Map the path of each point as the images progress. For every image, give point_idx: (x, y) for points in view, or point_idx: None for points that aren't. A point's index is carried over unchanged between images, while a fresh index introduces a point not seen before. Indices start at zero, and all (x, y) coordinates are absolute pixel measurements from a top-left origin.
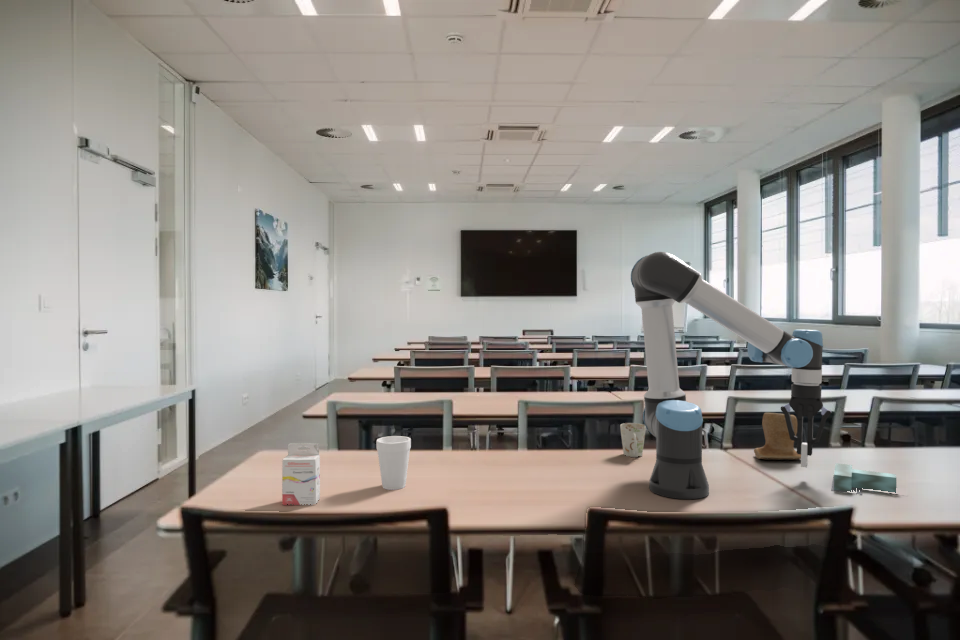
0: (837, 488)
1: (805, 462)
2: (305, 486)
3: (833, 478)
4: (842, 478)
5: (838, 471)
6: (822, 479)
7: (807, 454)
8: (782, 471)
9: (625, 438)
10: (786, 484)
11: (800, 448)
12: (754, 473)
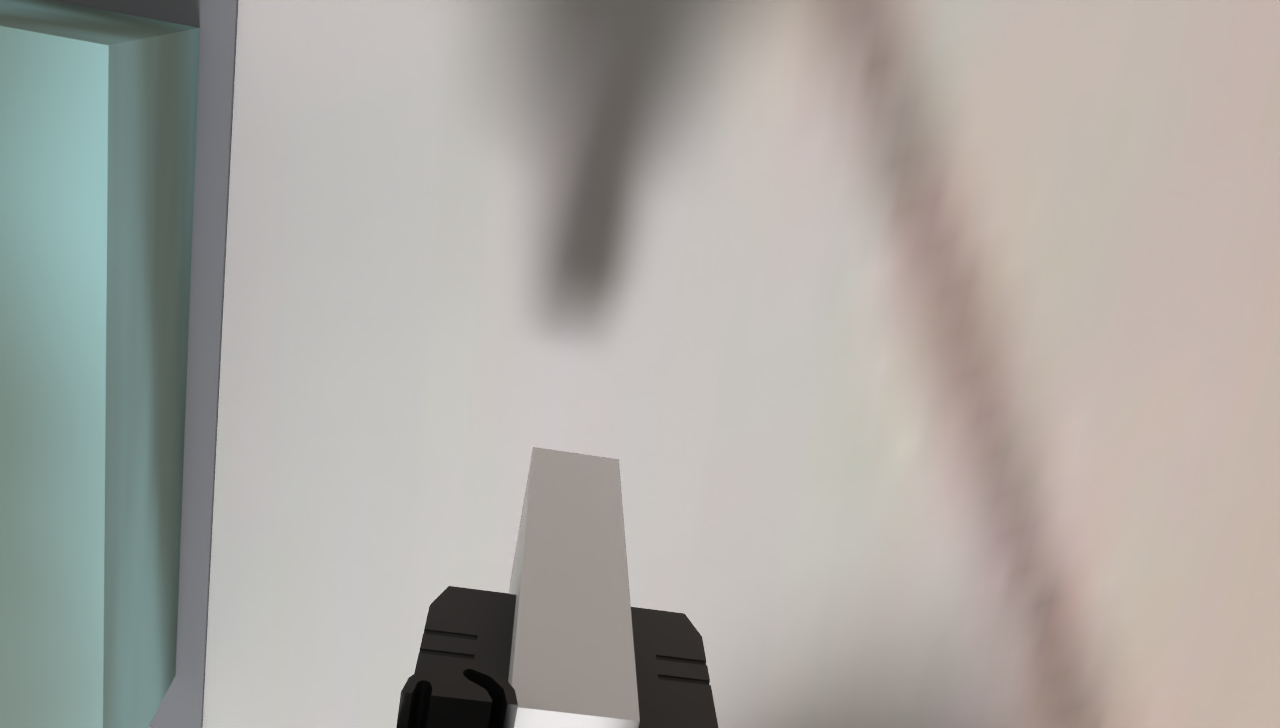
0: (143, 21)
1: (550, 487)
2: None
3: (200, 594)
4: None
5: (42, 315)
6: (334, 512)
7: (510, 606)
8: (775, 689)
9: None
10: (827, 71)
11: (641, 688)
12: (1134, 478)
